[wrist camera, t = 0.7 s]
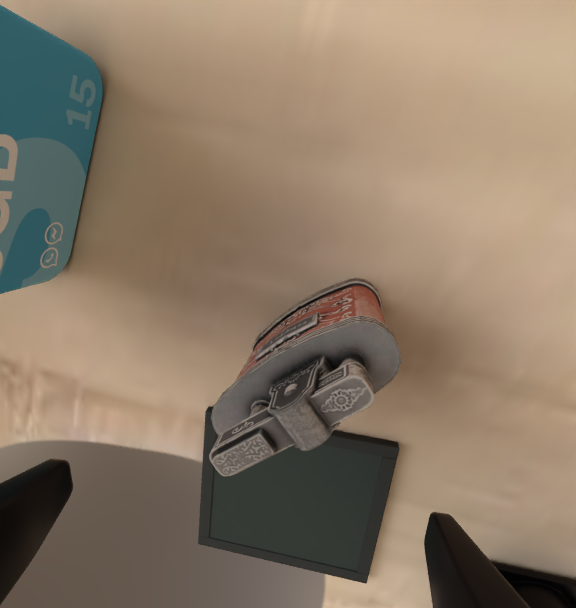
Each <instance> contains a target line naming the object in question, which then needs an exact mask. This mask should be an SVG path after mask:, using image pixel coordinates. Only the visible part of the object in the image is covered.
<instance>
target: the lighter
mask: <svg viewBox="0 0 576 608" xmlns="http://www.w3.org/2000/svg"><path fill="white" fill-rule="evenodd" d="M381 311H382V302H381V299H380V296H379V294H378V292H377V289H376V288H375V287H374V286H373V285H372V284H371V283H369V282H368V281H366V280H364V279H359V278H353V279H348V280H346V281H343V282H341V283H338V284H336V285H333V286H330V287H328V288H325V289H323V290H321V291H319V292H317V293H315V294H314V295H312V296H310V297H308V298H306V299H304V300H302V301H301V302H299V303H297V304H296V305H295V306H293V307H292V308H290V309H289V310H288V311H286V312H285V313H284V314H282V315H281V316H280V317H278V318H277V319H276V320H275V321H274V322H273V323H272V324H271V325H270V326H268V327H267V328H266V329H265V330H264V331H263V332H262V333H261V334H260V335H259V336H258V338H257V339H256V341H255V343H254V344H253V346H252V351H251V356H250V357H249V359H248V361H247V362H246V364H245V366H244V367H243V369H242V370H241V372H240V374H239V375H238V377H237V379H236V380H235V382H234V383H233V384H232V385H231V386H230V387H229V388H228V389H226V390H225V391H224V392H223V393H222V395H221V396H220V398H219V400H218V401H217V403H216V404H215V406H214V407H213V409H212V416H211V420H212V424H213V428H214V430H215V431H216V433H217V435H218V439H217V441H216V443H215V445H214V447H213V449H212V450H211V452H210V454H209V458H210V461H211V463H212V464H213V466H214V467H215V469H216V470H217V471H218V472H219V473H220V474H221V475H222V476H232V475H235V474H237V473H239V472H241V471H243V470H245V469H247V468H249V467H251V466H253V465H255V464H257V463H259V462H261V461H263V460H265V459H267V458H269V457H271V456H273V455H275V454H277V453H279V452H281V451H283V450H285V449H287V448H289V447H291V446H293V445H294V447H295V448H300V450H301V451H309V450H311V449H314V448H316V447H318V446H320V445H321V444H323V443H324V442H325V441H326V440H327V439H328V438H329V437H330V435H331V434H332V432H333V431H334V430H335V429H336V428H337V427H338V425H339V423H340V421H342V420H344V419H346V418H348V417H350V416H352V415H354V414H356V413H358V412H360V411H362V410H364V409H366V408H367V407H369V406H370V405H371V404H372V402H373V401H374V394H375V393H376V392H377V391H379V390H380V389H381V388H383V387H384V386H385V385H387V384H388V383H389V382H390V381H391V380H392V379H393V378H394V377H395V376H396V374H397V373H398V370H399V367H400V364H401V358H400V350H399V347H398V344H397V342H396V340H395V337H394V335H393V333H392V332H391V330H390V329H389V328H388V327H387V326H386V324H385V321H384V318H383V315H382V312H381Z"/></svg>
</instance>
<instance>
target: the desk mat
mask: <svg viewBox="0 0 576 608" xmlns="http://www.w3.org/2000/svg"><path fill="white" fill-rule="evenodd" d="M212 409H213V407H208V409H207V410H206V415H205V433H204V451H203V468H202V486H201V504H200V521H199V522H200V523H199V539H198V543H199V544H201V545H205V546H209V547H214V548H218V549H222V550H226V551H231V552H235V553H239V554H243V555H247V556H252V557H256V558H261V559H264V560H269V561H273V562H277V563H281V564H286V565H290V566H294V567H298V568H303V569H307V570H311V571H315V572H320V573H324V574H328V575H332V576H337V577H341V578H345V579H349V580H354V581H358V582H362V583H367V579H368V574H369V571H370V567H371V563H372V559H373V555H374V551H375V546H376V542H377V538H378V534H379V530H380V526H381V522H382V518H383V514H384V509H385V505H386V501H387V497H388V493H389V489H390V485H391V481H392V477H393V472H394V468H395V464H396V459H397V456H398V452H399V445H398V443H397V442H392V441H387V440H382V439H376V438H371V437H366V436H361V435H355V434H350V433H345V432H340V431H333V432H332V434H331V435H330V437H329V438H328V439H327V440H326V441H325V442H324V443H323V444H321V445H320V446H318V447H316V448H314V449H311V450H309V451H301V450H300V448H295V447H294V445H293V446H291V447H289V448H287V449H285V450H283V451H281V452H279V453H277V454H275V455H273V456H271V457H269V458H267V459H265V460H263V461H261V462H259V463H257V464H255V465H253V466H251V467H249V468H247V469H245V470H243V471H241V472H239V473H237V474H235V475H232V476H222V475H221V474H220V473H219V472H218V471H217V470H216V469H215V467H214V466H213V464H212V463H211V461H210V458H209V454H210V452H211V450H212V449H213V447H214V445H215V443H216V441H217V439H218V435H217V433H216V431H215V430H214V428H213V424H212V420H211V416H212Z"/></svg>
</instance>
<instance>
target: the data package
mask: <svg viewBox="0 0 576 608" xmlns="http://www.w3.org/2000/svg"><path fill="white" fill-rule="evenodd" d="M102 96H103V85H102V79H101V75H100V72H99V70H98V68H97V66H96V64H95V62H94V61H93V60H92V59H91V58H90V57H89V56H88V55H87V54H85V53H84V52H82V51H80V50H78V49H77V48H75V47H73V46H71V45H70V44H68V43H66V42H64V41H63V40H61V39H59V38H57V37H56V36H54V35H52V34H50V33H49V32H47V31H45V30H43V29H42V28H40V27H38V26H36V25H34V24H33V23H31V22H29V21H27V20H26V19H24V18H22V17H20V16H19V15H17V14H15V13H13V12H12V11H10V10H8V9H6V8H5V7H3V6H1V5H0V294H1V293H5V292H9V291H12V290H16V289H20V288H23V287H27V286H31V285H35V284H38V283H42V282H46V281H48V280H51V279H52V278H54V277H55V276H57V275H58V274H59V273H60V272H61V271H62V270H63V268H64V267H65V265H66V264H67V262H68V260H69V257H70V254H71V250H72V245H73V240H74V235H75V230H76V225H77V220H78V215H79V211H80V206H81V201H82V196H83V191H84V186H85V181H86V176H87V171H88V166H89V161H90V157H91V152H92V147H93V142H94V137H95V132H96V127H97V122H98V117H99V112H100V107H101V103H102Z"/></svg>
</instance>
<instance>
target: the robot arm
mask: <svg viewBox="0 0 576 608" xmlns="http://www.w3.org/2000/svg"><path fill="white" fill-rule="evenodd" d="M72 489H73V482H72V477H71V470H70V465H69V463H68V461H66V460H60V459H49V460H47V461H45V462H43V463H41V464H39V465H37V466H35V467H33V468H31V469H29V470H27V471H25V472H23V473H21V474H19V475H17V476H15V477H13V478H11V479H9V480H6V481H4V482H3V483H0V605H1V603H2V602H3V600H4V599H5V598H6V596H7V595H8V594H9V592H10V591H11V589H12V588H13V586H14V585H15V584H16V582H17V581H18V579H19V578H20V576H21V575H22V574H23V572H24V571H25V569H26V568H27V566H28V565H29V563H30V562H31V561H32V559H33V558H34V556H35V554H36V553H37V551H38V550H39V548H40V546H41V545H42V543H43V541H44V540H45V538H46V536H47V534H48V533H49V531H50V529H51V528H52V526H53V524H54V523H55V521H56V519H57V517H58V516H59V514H60V512H61V511H62V509H63V507H64V506H65V504H66V502H67V501H68V499H69V497H70V495H71V492H72ZM424 545H425V555H426V562H427V568H428V575H429V582H430V589H431V596H432V603H433V608H576V581H575V580H571V579H566V578H562V577H557V576H553V575H548V574H544V573H539V572H535V571H530V570H525V569H521V568H516V567H512V566H507V565H503V564H498V563H494V562H490V560H489V559H488V558H487V557H486V556H485V555H484V553H483V552H482V551H481V550H480V549H479V547H478V546H477V545H476V544H475V543H474V542H473V540H472V539H471V538H470V537H469V536H468V535H467V533H466V532H465V531H464V530H463V529H462V528H461V526H460V525H459V524H458V523H457V522H456V521H455V519H454V518H453V517H452V516H450V515H449V514H444V513H437V512H433V513H431V515H430V517H429V522H428V526H427V530H426V535H425V542H424Z"/></svg>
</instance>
